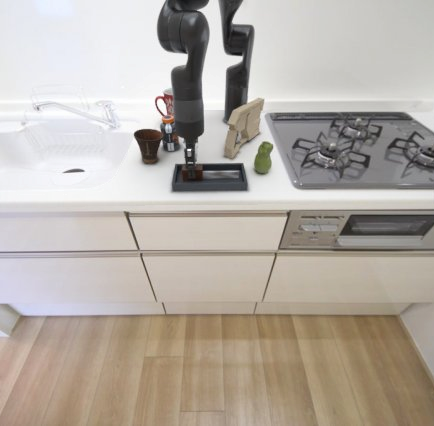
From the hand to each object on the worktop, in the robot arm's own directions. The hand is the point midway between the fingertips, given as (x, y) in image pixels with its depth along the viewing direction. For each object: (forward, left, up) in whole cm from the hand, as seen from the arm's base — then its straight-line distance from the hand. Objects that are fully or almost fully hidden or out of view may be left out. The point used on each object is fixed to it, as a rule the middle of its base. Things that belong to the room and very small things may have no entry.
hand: (192, 169), depth 71 cm
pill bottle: (-10, -19, -4) cm, 22 cm away
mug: (-25, -32, -4) cm, 41 cm away
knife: (-3, +4, -3) cm, 6 cm away
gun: (-28, +1, -4) cm, 29 cm away
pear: (-16, +15, -4) cm, 23 cm away
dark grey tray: (-3, +4, -4) cm, 6 cm away
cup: (0, -18, -4) cm, 19 cm away
